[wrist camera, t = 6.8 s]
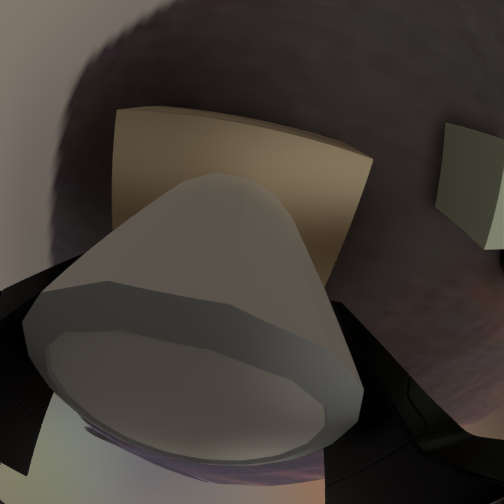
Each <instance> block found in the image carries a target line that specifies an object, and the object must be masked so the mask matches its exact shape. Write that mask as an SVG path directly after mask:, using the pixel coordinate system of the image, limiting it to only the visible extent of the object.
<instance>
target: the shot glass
mask: <svg viewBox="0 0 504 504" xmlns="http://www.w3.org/2000/svg"><path fill="white" fill-rule="evenodd" d="M22 324H23V330H24V336H25V341H26V345H27V350H28V355H29V357H30V359H31V360H32V362H33V364H34V365H35V367H36V368H37V370H38V371H39V373H40V374H41V376H42V377H43V379H44V380H45V381H46V383H47V384H48V386H49V387H50V388H51V390H53V391H54V392H55V393H56V394H57V395H58V396H59V397H60V398H61V399H62V400H63V401H64V402H65V403H67V404H68V405H69V406H70V407H71V408H72V409H73V410H75V411H76V412H77V413H78V414H79V415H81V416H82V417H83V418H85V419H86V420H88V421H89V422H91V423H93V424H94V425H96V426H97V427H99V428H101V429H103V430H104V431H106V432H108V433H109V434H111V435H113V436H115V437H117V438H119V439H120V440H123V441H125V442H127V443H130V444H132V445H135V446H137V447H140V448H143V449H145V450H148V451H151V452H154V453H157V454H160V455H163V456H167V457H171V458H176V459H180V460H185V461H191V462H196V463H202V464H209V465H231V466H253V465H261V464H268V463H275V462H281V461H287V460H292V459H296V458H299V457H301V456H304V455H307V454H309V453H312V452H314V451H317V450H319V449H322V448H324V447H326V446H329V445H331V444H332V443H334V442H335V441H336V440H337V439H338V438H340V437H341V436H342V435H343V434H344V433H345V432H347V431H348V430H349V429H350V428H351V427H352V426H353V425H354V424H355V423H357V422H358V418H359V413H360V408H361V403H362V398H363V392H364V389H363V386H362V383H361V380H360V378H359V375H358V372H357V369H356V367H355V364H354V361H353V359H352V356H351V354H350V351H349V348H348V346H347V343H346V341H345V338H344V336H343V333H342V331H341V328H340V326H339V323H338V321H337V318H336V316H335V313H334V311H333V308H332V306H331V304H330V301H329V299H328V297H327V294H326V292H325V289H324V287H323V285H322V282H321V280H320V278H319V276H318V273H317V271H316V269H315V266H314V264H313V262H312V260H311V257H310V255H309V253H308V251H307V249H306V246H305V244H304V242H303V240H302V238H301V235H300V233H299V231H298V229H297V227H296V225H295V223H294V220H293V218H292V217H291V216H290V214H289V213H288V211H287V210H286V208H285V207H284V206H283V204H282V203H281V201H280V200H279V199H278V197H277V196H276V194H274V193H273V192H271V191H269V190H268V189H266V188H264V187H263V186H261V185H259V184H258V183H256V182H254V181H253V180H251V179H249V178H248V177H242V176H236V175H229V174H222V173H211V174H207V175H203V176H200V177H196V178H192V179H188V180H185V181H183V182H182V183H180V184H179V185H177V186H176V187H174V188H173V189H171V190H170V191H168V192H167V193H165V194H164V195H162V196H161V197H159V198H158V199H156V200H155V201H153V202H152V203H151V204H149V205H148V206H146V207H145V208H143V209H142V210H141V211H139V212H138V213H136V214H135V215H134V216H132V217H131V218H130V219H128V220H127V221H126V222H124V223H123V224H122V225H120V226H119V227H118V228H116V229H115V230H114V231H112V232H111V233H110V234H109V235H107V236H106V237H105V238H103V239H102V240H101V241H100V242H98V243H97V244H96V245H95V246H93V247H92V248H91V249H90V250H89V251H87V252H86V253H85V254H84V255H83V256H81V257H80V258H79V259H78V260H77V261H75V262H74V263H73V264H72V265H71V266H70V267H68V268H67V269H66V270H65V271H64V272H63V273H62V274H61V275H59V276H58V277H57V278H56V279H55V280H54V281H53V282H52V283H51V284H50V285H48V286H47V287H46V288H45V289H44V290H43V291H42V292H41V293H40V295H39V296H38V298H37V299H36V301H35V302H34V304H33V305H32V307H31V309H30V310H29V312H28V313H27V315H26V316H25V318H24V320H23V321H22Z"/></svg>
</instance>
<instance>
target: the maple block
mask: <svg viewBox="0 0 504 504" xmlns="http://www.w3.org/2000/svg"><path fill="white" fill-rule="evenodd" d="M372 162H373V159H372V158H370V157H369V156H367V155H365V154H364V153H362V152H360V151H358V150H357V149H355V148H353V147H351V146H349V145H347V144H346V143H344V142H341V141H338V140H335V139H332V138H328V137H325V136H322V135H318V134H315V133H311V132H307V131H304V130H300V129H296V128H292V127H288V126H284V125H280V124H276V123H271V122H267V121H262V120H257V119H252V118H247V117H242V116H236V115H230V114H224V113H218V112H211V111H204V110H197V109H188V108H179V107H168V106H146V107H136V108H128V109H120V110H117V112H116V122H115V132H114V145H113V163H112V228H113V231H114V230H115V229H116V228H118V227H119V226H120V225H122V224H123V223H124V222H126V221H127V220H128V219H130V218H131V217H132V216H134V215H135V214H136V213H138V212H139V211H141V210H142V209H143V208H145V207H146V206H148V205H149V204H151V203H152V202H153V201H155V200H156V199H158V198H159V197H161V196H162V195H164V194H165V193H167V192H168V191H170V190H171V189H173V188H174V187H176V186H177V185H179V184H180V183H182V182H183V181H185V180H188V179H192V178H196V177H200V176H203V175H207V174H211V173H222V174H229V175H236V176H242V177H248V178H249V179H251V180H253V181H254V182H256V183H258V184H259V185H261V186H263V187H264V188H266V189H268V190H269V191H271V192H273V193H274V194H276V196H277V197H278V199H279V200H280V201H281V203H282V204H283V206H284V207H285V208H286V210H287V211H288V213H289V214H290V216H291V217H292V218H293V220H294V223H295V225H296V227H297V229H298V231H299V233H300V235H301V238H302V240H303V242H304V244H305V246H306V249H307V251H308V253H309V255H310V257H311V260H312V262H313V264H314V266H315V269H316V271H317V273H318V276H319V278H320V280H321V282H322V285H323V287H325V285H326V283H327V281H328V278H329V276H330V274H331V271H332V269H333V267H334V264H335V262H336V260H337V257H338V255H339V252H340V250H341V248H342V245H343V243H344V240H345V238H346V235H347V232H348V230H349V227H350V225H351V222H352V220H353V217H354V214H355V211H356V209H357V206H358V203H359V201H360V198H361V195H362V192H363V189H364V186H365V183H366V181H367V178H368V175H369V172H370V169H371V165H372Z"/></svg>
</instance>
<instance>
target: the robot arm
mask: <svg viewBox="0 0 504 504" xmlns="http://www.w3.org/2000/svg"><path fill="white" fill-rule="evenodd" d="M84 254H85V253H84ZM84 254H81V255H79V256H76V257H74V258H72V259H69V260H67V261H64V262H62V263H60V264H57V265H55V266H53V267H51V268H48V269H46V270H44V271H42V272H40V273H37V274H35V275H33V276H31V277H29V278H26V279H24V280H22V281H20V282H18V283H16V284H14V285H12V286H10V287H7V288H5V289H3V291H0V464H1V463H3V464H5V465H6V466H8V467H10V468H12V469H14V470H16V471H17V472H19V473H21V474H23V475H25V476H27V475H28V471H29V467H30V463H31V459H32V456H33V452H34V448H35V445H36V442H37V438H38V435H39V432H40V429H41V424H42V422H43V419H44V416H45V414H46V411H47V408H48V405H49V403H50V400H51V398H52V395H53V392H54V391H53V390H51V388H50V387H49V386H48V384H47V383H46V381H45V380H44V379H43V377H42V376H41V374H40V373H39V371H38V370H37V368H36V367H35V365H34V364H33V362H32V360H31V359H30V357H29V355H28V350H27V345H26V341H25V336H24V330H23V324H22V321H23V320H24V318H25V316H26V315H27V313H28V312H29V310H30V309H31V307H32V305H33V304H34V302H35V301H36V299H37V298H38V296H39V295H40V293H41V292H42V291H43V290H44V289H45V288H46V287H47V286H48V285H50V284H51V283H52V282H53V281H54V280H55V279H56V278H57V277H58V276H59V275H61V274H62V273H63V272H64V271H65V270H66V269H67V268H68V267H70V266H71V265H72V264H73V263H74V262H75V261H77V260H78V259H79V258H80V257H81V256H83V255H84ZM330 304H331V306H332V308H333V311H334V313H335V316H336V318H337V321H338V323H339V326H340V328H341V331H342V333H343V336H344V338H345V341H346V343H347V346H348V348H349V351H350V354H351V356H352V359H353V361H354V364H355V367H356V369H357V372H358V375H359V378H360V380H361V383H362V386H363V389H364V392H363V398H362V403H361V408H360V413H359V418H358V422H357V423H355V424H354V425H353V426H352V427H351V428H350V429H349V430H348V431H347V432H345V433H344V434H343V435H342V436H341V437H340V438H338V439H337V440H336V441H335V442H334V443H332V444H331V445H329V446H326V447H324V468H325V504H504V440H500V439H491V438H485V437H478V436H475V435H472V434H470V433H468V432H466V431H465V430H464V429H463V428H461V427H460V426H459V425H458V424H457V423H456V422H455V421H454V420H453V419H452V418H451V417H450V416H449V415H448V414H447V413H446V412H445V411H444V410H443V409H442V408H441V407H440V406H438V405H437V404H436V403H435V402H434V401H433V400H432V399H431V398H430V397H429V396H428V395H427V394H426V392H425V391H424V390H423V389H422V388H421V387H420V386H419V385H418V384H417V383H416V382H415V381H414V379H413V378H412V377H411V376H409V374H408V373H407V372H406V371H405V370H404V368H403V367H402V366H401V365H400V364H399V363H398V362H397V361H396V360H395V359H394V358H393V356H392V355H391V354H390V353H389V352H388V351H387V350H386V349H385V348H384V347H383V346H382V345H381V344H380V342H379V341H378V340H377V339H376V338H375V337H374V336H373V335H372V334H371V333H370V332H369V331H368V330H367V329H366V328H365V327H364V325H363V324H362V323H361V322H360V321H359V320H358V319H357V318H356V317H355V316H354V315H353V314H352V313H351V312H350V311H349V310H348V309H347V308H346V307H345V306H344V305H343V304H342V303H341V302H337V301H330ZM0 504H5V503H3V502H2V501H1V500H0Z"/></svg>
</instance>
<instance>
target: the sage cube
mask: <svg viewBox="0 0 504 504" xmlns="http://www.w3.org/2000/svg"><path fill="white" fill-rule="evenodd" d="M435 207H436V208H437V209H438V210H440V211H441V212H442V213H443V214H445V215H446V216H447V217H448V218H449V219H451V220H452V221H453V222H454V223H455V224H456V225H458V226H459V227H460V228H461V229H462V230H463V231H464V232H466V233H467V234H468V235H469V236H470V237H471V238H472V239H473V240H474V241H475V242H477V243H478V244H479V245H480V246H481V247H482V248H483V249H484V250H489V249H504V139H501V138H498V137H495V136H492V135H489V134H486V133H483V132H480V131H476V130H473V129H469V128H466V127H462V126H458V125H454V124H450V123H446V122H445V135H444V147H443V157H442V165H441V173H440V180H439V186H438V192H437V198H436V203H435Z"/></svg>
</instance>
